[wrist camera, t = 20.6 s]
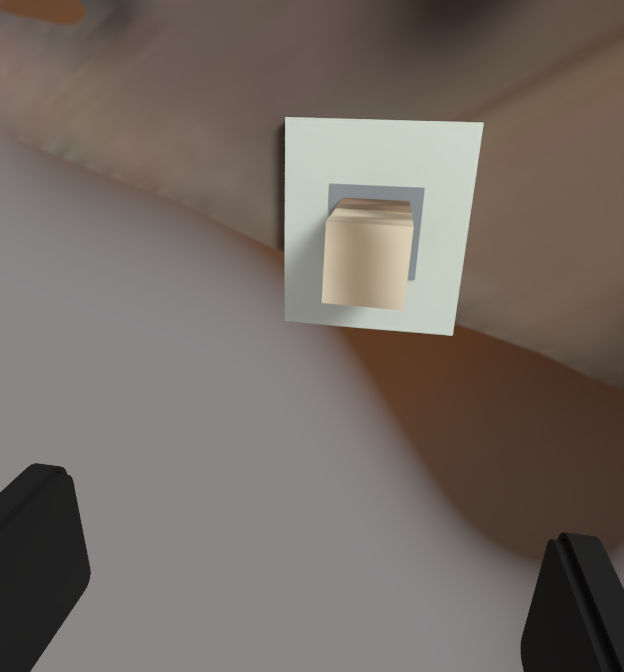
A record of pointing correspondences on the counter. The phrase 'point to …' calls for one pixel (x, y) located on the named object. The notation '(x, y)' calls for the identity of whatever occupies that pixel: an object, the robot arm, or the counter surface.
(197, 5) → the counter surface
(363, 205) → the walnut cube
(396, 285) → the maple cube
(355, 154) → the build board
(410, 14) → the counter surface
